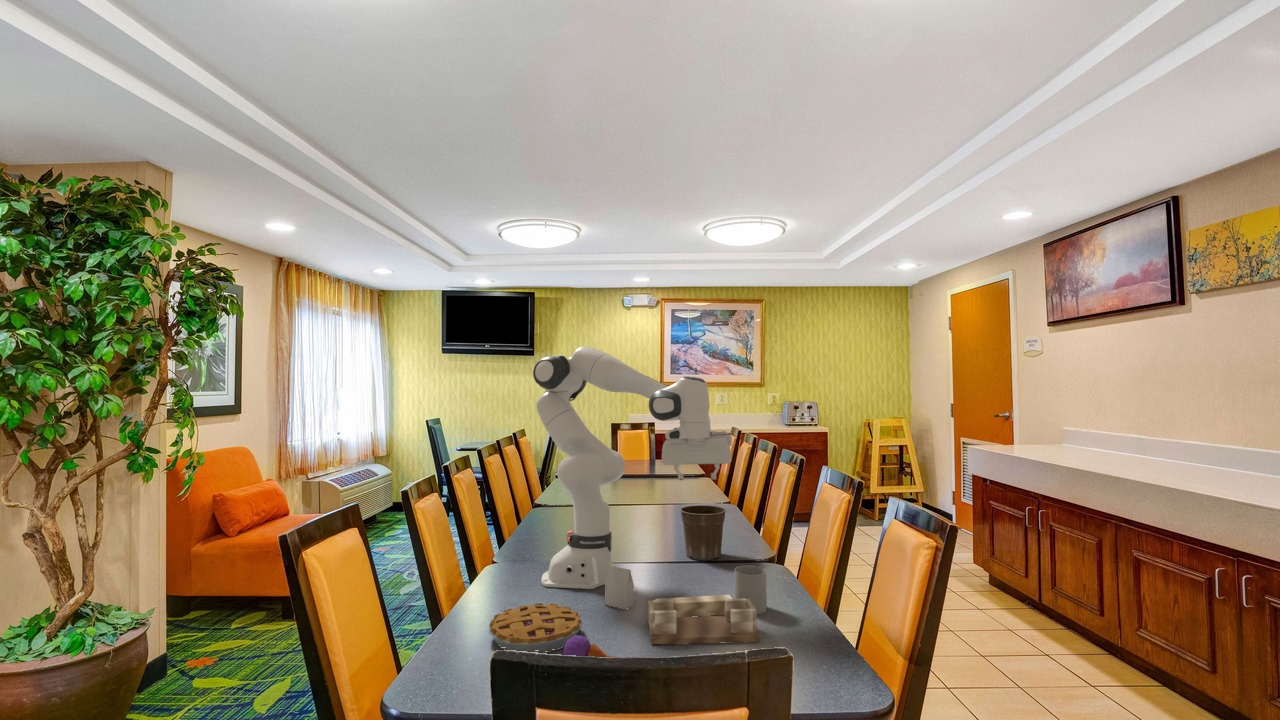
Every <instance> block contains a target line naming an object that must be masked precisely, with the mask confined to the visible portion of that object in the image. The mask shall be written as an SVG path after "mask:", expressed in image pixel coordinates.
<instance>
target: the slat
mask: <svg viewBox="0 0 1280 720" xmlns="http://www.w3.org/2000/svg"><path fill="white" fill-rule="evenodd" d="M725 599H733V598H732V597H731V595H730V594H719V595H718V594H717V595H715V594H713V595H701V596H700V595H699V596H683V597H681V596H680V597H667V598H655V599H654V600H673V610H676V617H692V616H701V617H712V616H711V615H717V616H725Z"/></svg>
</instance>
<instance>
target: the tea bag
mask: <svg viewBox="0 0 1280 720" xmlns="http://www.w3.org/2000/svg"><path fill="white" fill-rule="evenodd" d="M631 571H632V570H631V569H628V568H623V567H617V566H614V565H612V566H609V567H608V573H607V577H606V581H605V585H604V605H605V606H606V605H609V606H608V607H611V606H614V607H613V608H615V607H618V608H617V609H620V608H624V609H623V610H625V609H627V608H629V607H630V608H632V607H633V606H634V580H633V577H632V573H631ZM632 605H633V606H632ZM631 606H632V607H631ZM630 608H629V609H630ZM627 610H628V609H627Z"/></svg>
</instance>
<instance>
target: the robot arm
mask: <svg viewBox="0 0 1280 720" xmlns="http://www.w3.org/2000/svg"><path fill="white" fill-rule="evenodd" d="M532 370H533V372H532V375H533V376H532V377H533V379H534V381H535V382H536V384H537V385H538V386H539V387H541V388H542V389H544V390H545V391H544V393H543V394H541V396H539V398H538V400H537V401H536V405H535V406H536V410H537V413H538V416H539V418H540V420H541V422H542V425H543V426H544V428H545V430H546V432H548V435H549V436H550V437H551V439H552V441H553V442H554V444H555V446H556V447H557V449H558V450H559V451H560V452H562V453H565V454H566V455H568V456H566V457H564V458H563V459H561V461H560V462H559V464H558V466H557V471H556V473H557V479H558V482H559V484H560V485H561V486H562V487H563V488H564V489H565V490H566V491H567V492H568V494H569V495H570V499H571V502H572V506H573V523H574V524H573V525H574V526H573V527H574V528H573V530H574V531H572V530H568V531H567V533H566V538H567V545H566V546H565V547H563V548H562V549H561V550H560V551H558V552H557V553H555V555H554V556H553V557H552V558H551V560H550V563H549V565H548V570H546V571H545V572H544V573H543V574H542V576H541V580H540V582H541V585H542V586H543V587H546V588H559V589H560V588H563V589H565V588H566V589H580V588H581V589H582V590H583V589H585V590H593V589H596V587H597V588H598V587H600V586H601V587H602V586H605V581H606V577H607V573H608V567H609V566H613V559H612V548H613V536H612V531H611V507H610V505H609V504H608V502H606V501H605V500H604V499H603V496H602V494H601V487H600V486H604V485H605V486H606V485H610V484H612V483H614V482H615V481H617V480H619V479H621V477H623V475H624V473H625V469H626V463H625V459H624V457H623V456H622V454H621V453H619V452H618V451H616V450H614V449H612V448H610V447H608V446H607V444H604V443H603V442H602V440H600V439H598V437H596V436H595V435H594V434H593V433H592V432H591V431H590V430H589V428H588V427H587V426H586V425H585V423H584V422H583V420H582V419H581V416H579V414H578V413H577V411H576V410H575V408H574V407H573V405H572V404H571V402H572V401H575V400H576V398H577V397H578V395H580V394H581V393H582V392H583V390H584V389H585V388H586V386H587V383H589V384H590V385H592V386H594V387H596V388H598V389H601V390H604V391H607V392H611V393H626V394H627V393H628V394H629V393H630V394H634V395H635V394H636V395H639V396H642V397H645V398H646V399H649V401H648V409H649V412H650V414H651V416H652V417H653V418H654V419H655V420H658V421H660V422H661V421H663V422H669V421H670V422H671V421H677V420H678V421H679V426H678V427H675V428H673V429H669V430H667V431H666V432H665V434H664V435H665V436H664V437H665V439H666V440H665V441H664V442H663V444H662V448H661V463H662V464H663V465H666V466H668V465H669V466H670V465H673V469H674V471H675V473H676V474H677V479H678V481H684V473H683V472H680V470H679V469H680V465H714V468H715V469H714V472H711V473H710V480H713V481H714V480H715V481H716V480H717V473H718V472H719V470H720V465H723V464H724V465H725V464H730V463H731V462H732V453H731V446H732V444H733V437H732V435H731V434H730V433H729V432H727V431H724V430H722V431H713V430H712V431H711V419H710V415H709V413H710V412H709V411H710V394H709V388H708V384H707V381H705V380H704V379H703V378H701V377H695V376H681V377H680V378H679V379H678V381H676V382H674V383H672V384H671V385H667V384H665V383H662V382H661V381H658V380H655V379H654V378H652V377H649V376H647V375H645V374H643V373H642V372H639V371H638V370H636V369H635V368H632V367H631V366H629V365H628V364H626V363H624V362H623V361H621V360H620V359H618V358H617V357H614V356H612V355H611V354H609V353H607V352H604V351H602V350H600V349H597V348H594V347H590V346H580V347H578V348H577V349H575V350H574V352H573V353H572V354H571V356H570V357H566V356H565V355H557V356H556V355H555V356H554V355H553V356H546V357H543V358H542V357H541V358H540V359H539V360H538V361H536V363H535V365H534V367H533V369H532Z"/></svg>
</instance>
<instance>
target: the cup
mask: <svg viewBox="0 0 1280 720" xmlns="http://www.w3.org/2000/svg"><path fill="white" fill-rule="evenodd" d="M767 596H768V595H767V570H766V569H765V568H763V567H760V566H757V565H740V566H736V567H735V568H734V599H750V601H751V602H752V604H753V605H754V607H755V609H756V610H757V615H760V614H763V613H766V611H767V604H768V603H767V601H768V600H767V599H768V598H767Z"/></svg>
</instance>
